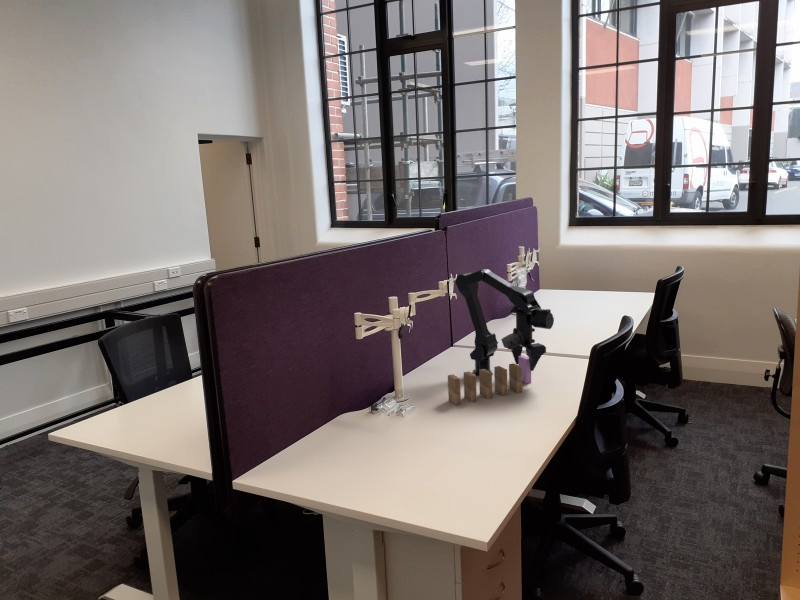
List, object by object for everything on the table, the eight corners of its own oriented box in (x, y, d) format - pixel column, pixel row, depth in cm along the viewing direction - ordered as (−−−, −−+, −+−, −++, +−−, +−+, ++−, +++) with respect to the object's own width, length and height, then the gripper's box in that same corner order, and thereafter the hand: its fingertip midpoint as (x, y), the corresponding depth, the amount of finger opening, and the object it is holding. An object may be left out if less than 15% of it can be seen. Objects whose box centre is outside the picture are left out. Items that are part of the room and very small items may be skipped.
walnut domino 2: (469, 396, 210) (468, 371, 208) (476, 401, 205) (476, 375, 203) (464, 397, 209) (463, 372, 207) (471, 402, 204) (470, 376, 203)
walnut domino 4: (499, 390, 214) (499, 365, 212) (507, 394, 209) (507, 369, 208) (494, 391, 213) (494, 366, 212) (502, 395, 209) (502, 370, 207)
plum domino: (523, 378, 225) (523, 355, 224) (531, 382, 221) (530, 358, 219) (518, 379, 224) (518, 356, 223) (526, 383, 220) (526, 359, 218)
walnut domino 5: (514, 387, 216) (513, 363, 214) (522, 391, 212) (521, 366, 210) (509, 388, 215) (508, 364, 214) (517, 392, 211) (516, 367, 209)
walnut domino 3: (484, 393, 212) (484, 368, 210) (492, 397, 207) (491, 372, 205) (479, 394, 211) (479, 369, 209) (487, 398, 206) (486, 373, 205)
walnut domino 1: (453, 399, 207) (452, 374, 206) (460, 404, 203) (460, 378, 201) (448, 400, 207) (447, 375, 205) (455, 405, 202) (454, 379, 200)
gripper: (491, 323, 224) (491, 364, 227) (519, 334, 207) (520, 378, 210) (516, 319, 228) (517, 359, 231) (547, 329, 211) (547, 372, 214)
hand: (524, 367), depth 222 cm, fingers open, 9 cm apart
